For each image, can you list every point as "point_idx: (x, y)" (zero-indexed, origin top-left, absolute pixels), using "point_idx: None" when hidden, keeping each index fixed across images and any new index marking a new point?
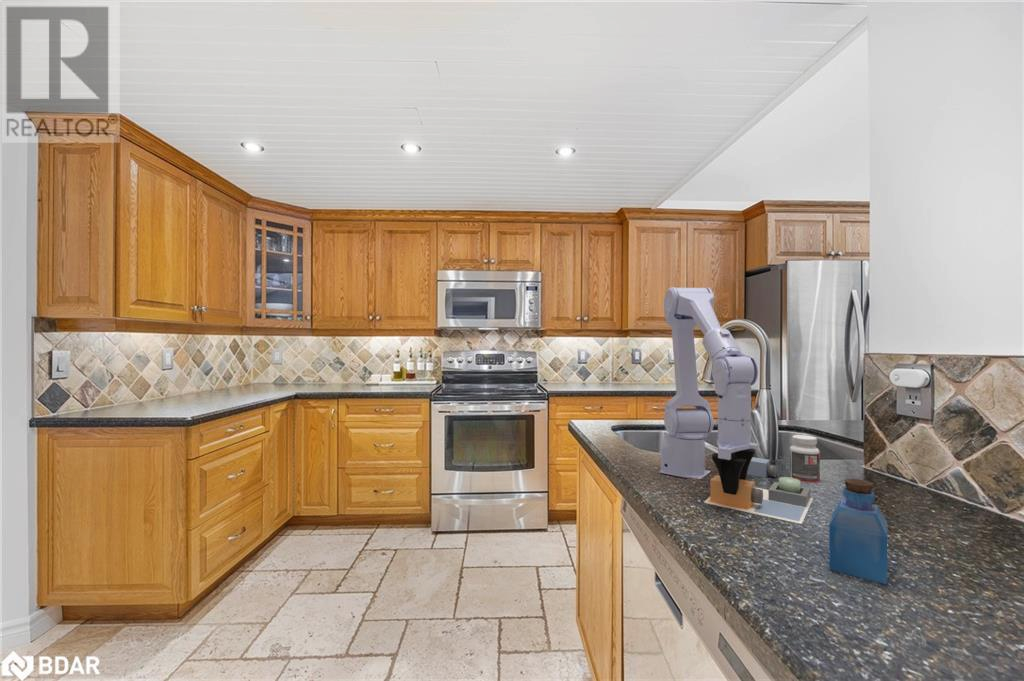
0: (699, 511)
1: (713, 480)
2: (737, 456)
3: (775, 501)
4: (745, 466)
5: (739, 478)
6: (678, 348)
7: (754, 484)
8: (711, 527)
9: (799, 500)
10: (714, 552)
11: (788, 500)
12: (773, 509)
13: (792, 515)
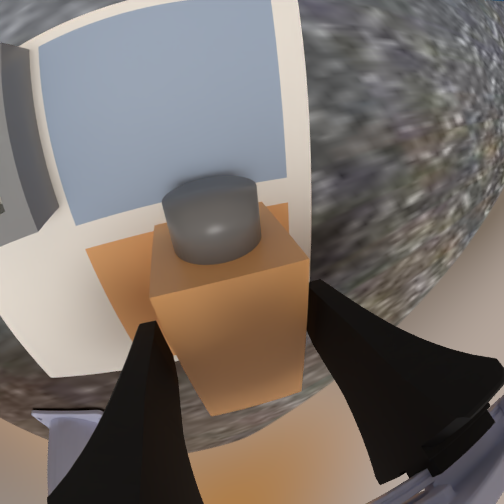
0: (353, 297)
1: (301, 384)
2: (181, 501)
3: (50, 175)
4: (150, 428)
5: (360, 331)
6: None
7: (167, 283)
8: (433, 223)
9: (15, 74)
10: (496, 175)
11: (27, 121)
12: (180, 122)
13: (206, 28)
